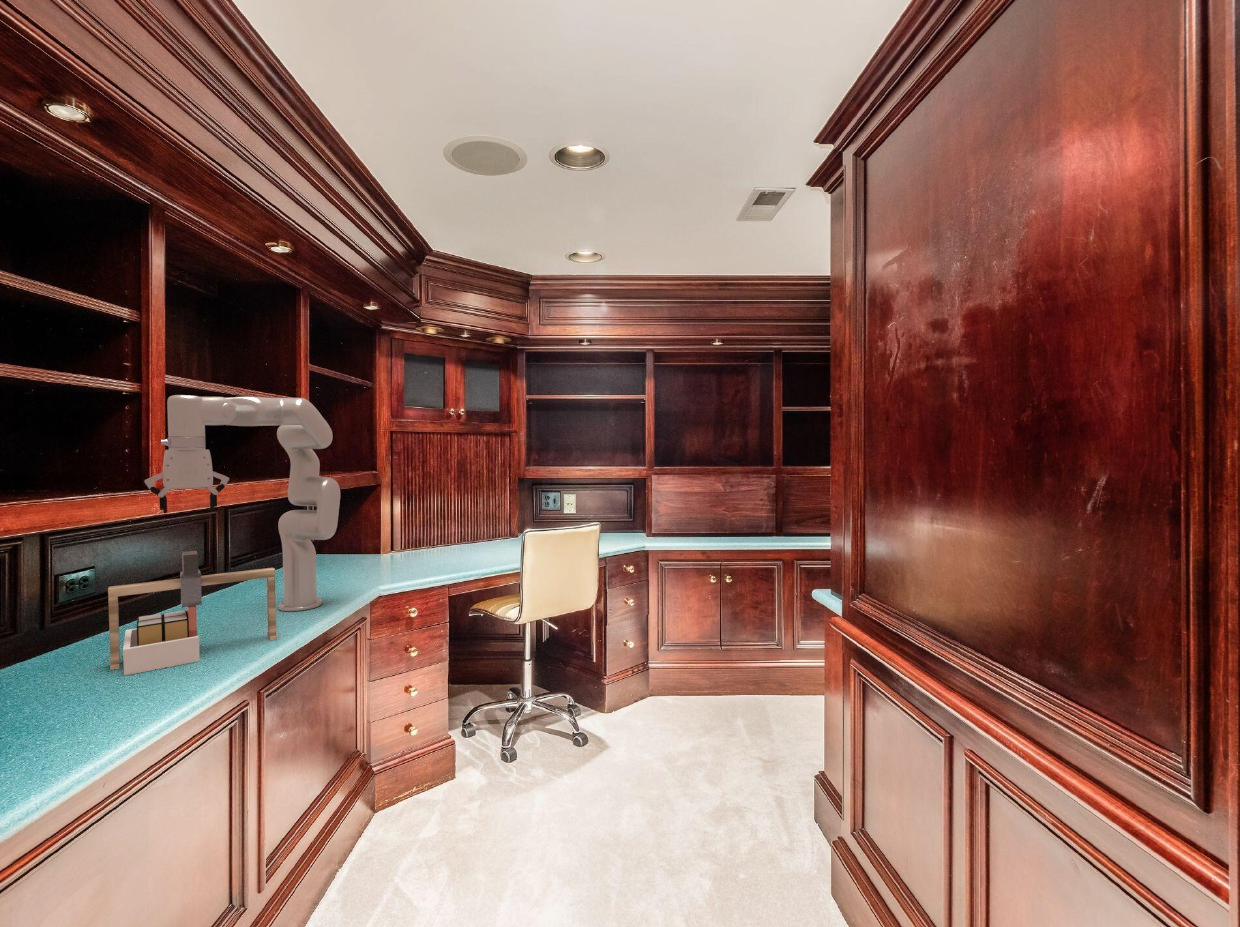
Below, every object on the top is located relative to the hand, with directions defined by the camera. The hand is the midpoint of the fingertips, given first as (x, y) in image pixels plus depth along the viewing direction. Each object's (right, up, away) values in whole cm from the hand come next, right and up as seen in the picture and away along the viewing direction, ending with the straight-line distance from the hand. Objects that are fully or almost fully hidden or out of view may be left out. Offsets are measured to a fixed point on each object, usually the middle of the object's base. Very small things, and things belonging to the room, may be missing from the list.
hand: (189, 511), depth 149 cm
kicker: (0, -35, +1) cm, 35 cm away
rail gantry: (+1, -36, +2) cm, 36 cm away
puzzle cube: (-5, -37, -2) cm, 37 cm away
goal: (-5, -36, -3) cm, 37 cm away
